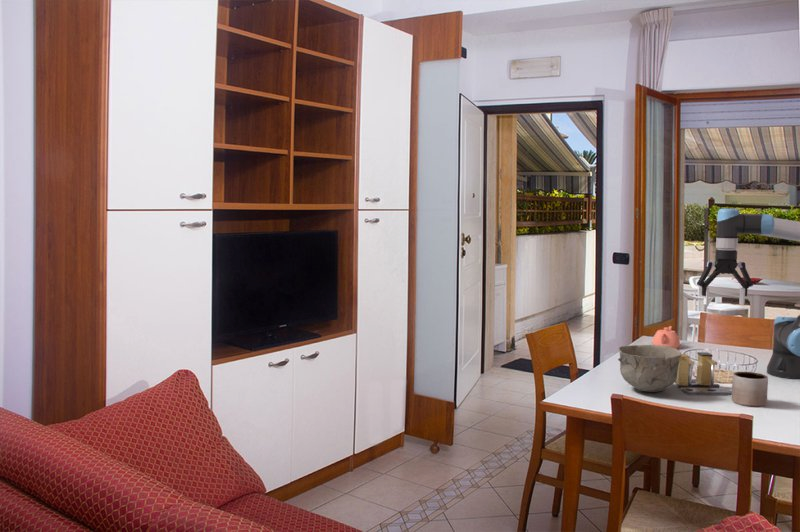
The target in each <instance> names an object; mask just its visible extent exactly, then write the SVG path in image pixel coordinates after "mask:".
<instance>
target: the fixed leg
mask: <svg viewBox="0 0 800 532" xmlns="http://www.w3.org/2000/svg"><path fill="white" fill-rule="evenodd" d="M681 354H682V355H681V357H680V360H679V365H678V371H677V379H676V380H675V382H674V384H675V385H676V384H678V385H679V386H688V387H691V383H692V379H691V373H692V374H693V372H692V365H693V366H694V365H695V361H693V360H692V359H690V358H691V357H690V355H688V354H687V353H681Z"/></svg>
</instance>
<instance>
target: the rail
mask: <svg viewBox="0 0 800 532" xmlns="http://www.w3.org/2000/svg"><path fill="white" fill-rule="evenodd" d="M675 386H676V388H678V389H682V388H721V386H720V384H719V383H714V387H711V385H701V384H699V383H697V382H694V383H693V382H691V387H688V386H679V385H678V384H676V383H675Z"/></svg>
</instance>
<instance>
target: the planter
mask: <svg viewBox="0 0 800 532" xmlns="http://www.w3.org/2000/svg"><path fill="white" fill-rule="evenodd" d="M768 385H769V377H768V375H765V374H763V373H759V372H754V371H753V372H752V371H735V372H733V373H732V385H731V391H732V395H730V396H731V401H732V402H733V403H734V404H737V405H740V406H744V407H751V408H752V407H753V408H758V407H759V408H760V407H761V408H762V407H765V406H766V405H767V403H768Z"/></svg>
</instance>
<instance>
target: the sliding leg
mask: <svg viewBox="0 0 800 532" xmlns="http://www.w3.org/2000/svg"><path fill="white" fill-rule="evenodd" d="M696 354H697V364H696V365H697V367H696V378H695V383H699V384H701V385H711V387H714V384H715V366H718V361H715V360H713V354H711V353H710V352H709V351H708V352H707V351H705V352H704V351H703V352H700V351H699V352H698V351H697V353H696Z"/></svg>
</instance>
